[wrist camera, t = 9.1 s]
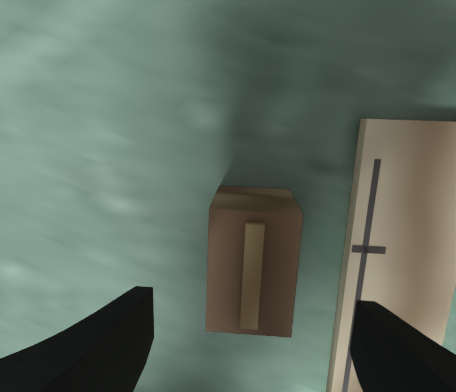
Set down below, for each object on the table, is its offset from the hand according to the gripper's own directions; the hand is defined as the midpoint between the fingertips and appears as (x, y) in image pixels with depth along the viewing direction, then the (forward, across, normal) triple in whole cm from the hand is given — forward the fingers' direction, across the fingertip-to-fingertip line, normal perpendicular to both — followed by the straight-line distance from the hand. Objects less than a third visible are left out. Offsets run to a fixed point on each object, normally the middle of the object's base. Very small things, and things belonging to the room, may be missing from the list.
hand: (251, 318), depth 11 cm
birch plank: (+8, -8, +5) cm, 13 cm away
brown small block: (+8, 0, 0) cm, 8 cm away
